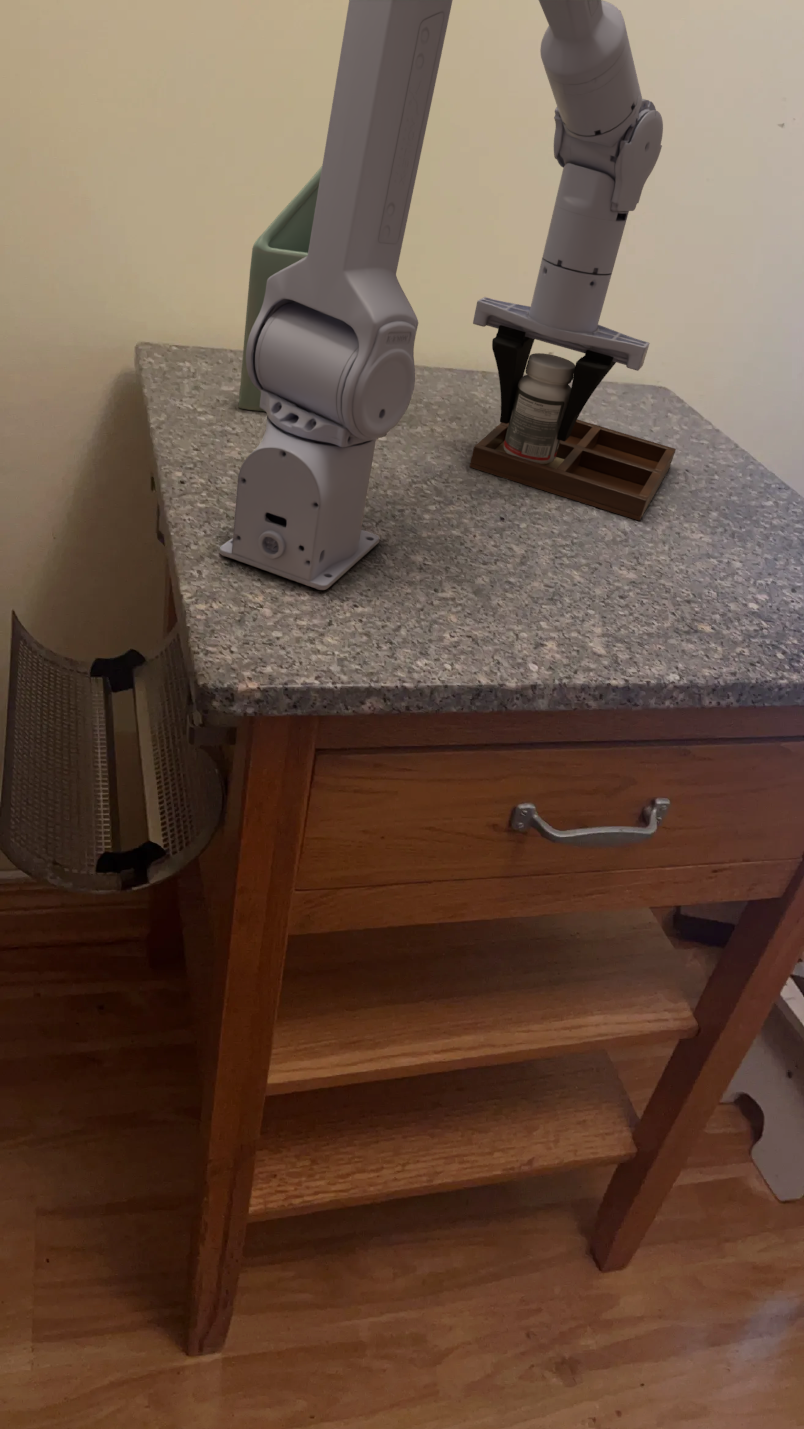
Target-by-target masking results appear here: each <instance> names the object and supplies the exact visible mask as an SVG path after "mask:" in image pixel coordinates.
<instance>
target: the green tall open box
mask: <svg viewBox="0 0 804 1429" xmlns="http://www.w3.org/2000/svg"><path fill="white" fill-rule="evenodd" d="M321 170H322V165H321V166H320V168H319V169H318V170H317V171H316V172H315V173H314V174H313V176H312V177H311V178H310V179H309V181H308V182H307V183H305V185H304V186H303V187H302V188H301V190H300V191H299V192H298V193H297V194H296V195H295V196H294V197H293V198H292V199H291V201H289V203H288V204H287V205H286V206H285V207H284V208H283V210H282V211H281V212H280V213H279V214H278V215H277V216H276V217H275V218H274V220H273V221H271V223H270V224H269V225H268V227H267V228H266V229H265V230H264V231H263V232H262V233H261V234H260V235H259V237H258V238H257V239H256V240H255V242H254V244H253V246H252V248H251V258H250V268H249V278H248V279H249V280H248V290H247V302H246V312H245V313H246V314H245V325H244V336H243V346H242V347H243V349H242V360H241V372H240V384H239V385H240V386H239V396H238V408H239V409H241V410H247V411H256V412H257V411H258V412H266V411H265V410H263V409H261V408H260V398H261V391H259V390H258V389H257V388H256V387H255V386H254V384H253V383H252V381H251V379H250V377H249V375H248V371H247V366H246V349H247V342H248V338H249V335H250V332H251V329H252V327H253V325H254V323H255V321H256V319H257V317H258V315H259V313H260V311H261V308H262V305H263V301H264V297H265V291H266V285H267V280H268V278H269V277H271V276H272V275H274V274H275V273H277V272H279V271H280V270H282V269H284V268H286V267H288V266H290V265H292V264H294V263H295V262H297V261H299V260H301V259H303V258H304V257H306V256H308V250H309V244H310V238H311V232H312V226H313V219H314V213H315V207H316V201H317V195H318V189H319V183H320V177H321ZM266 413H267V412H266Z"/></svg>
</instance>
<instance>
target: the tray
mask: <svg viewBox="0 0 804 1429" xmlns="http://www.w3.org/2000/svg"><path fill="white" fill-rule="evenodd" d="M508 425H509V423H508V424H505V423H502V422H500V423H499V424H498V425H497V426H495V427H494V428H493V429H492V430H490V432H489V433H488V434H487V435H485V437H483V438H482V439H481V440H479V441H478V443H476V444H474V446H473V450H472V455H471V459H470V463H469V468H472V469H474V470H478V471H482V472H484V473H488V474H491V475H494V476H497V477H500V478H504V479H506V480H509V481H512V482H516V483H519V484H522V485H525V486H528V487H532V488H534V489H538V490H540V491H544V492H547V493H551V494H553V495H557V496H560V497H563V498H566V499H570V500H573V501H576V502H579V503H582V504H585V505H589V506H591V507H594V508H598V509H601V510H604V511H607V512H611V513H613V514H616V515H620V516H622V517H626V518H629V519H632V520H635V521H639V522H640V521H641V519H642V518H643V516H644V514H645V512H646V511H647V509H648V507H649V505H650V503H651V501H652V500H653V498H654V496H655V495H656V493H657V491H658V489H659V487H660V486H661V484H662V482H663V481H664V478H665V477H666V475H667V473H668V471H669V470H670V468H671V465H672V462H673V459H674V456H675V453H676V450H677V449H676V448H674V447H671V446H668V445H664V444H661V443H658V442H654V441H651V440H648V439H644V438H641V437H637V436H634V435H631V434H627V433H624V432H621V431H618V430H615V429H612V428H611V429H610V428H608V427H604V426H601V425H598V424H594V423H591V422H587V421H585V420H581V419H578V418H577V420H576V422H575V425H574V427H573V429H572V432H571V434H570V436H569V438H568V439H567V440H566V441H561V440H560V443H559V447H558V450H557V454H556V457H555V459H554V461H552V462H550V463H547V464H539V463H536V462H533V461H530V460H526V459H523V458H520V457H517V456H514V455H510V454H507V453H506V452H505V450H504V441H505V437H506V433H507V429H508Z"/></svg>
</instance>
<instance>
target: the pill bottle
mask: <svg viewBox="0 0 804 1429" xmlns="http://www.w3.org/2000/svg"><path fill="white" fill-rule="evenodd" d="M575 365H576V363H574V362H573V361H571V360H569V359H567V358H564V357H562V356H559V355H554V354H550V353H543V352H541V353H540V352H536V353H535V352H534V353H530V355H529V358H528V361H527V365H526V368H525V374H524V375H523V377H522V378H521V379H520V380H519V383H518V386H517V390H516V395H515V399H514V403H513V408H512V412H511V416H510V421H509V425H508V429H507V433H506V437H505V441H504V450H505V452H506V453H507V454H510V455H514V456H517V457H520V458H523V459H526V460H530V461H533V462H536V463H539V464H547V463H550V462H552V461H554V459H555V457H556V454H557V450H558V447H559V443H560V440H558V439H557V437H558V432H559V428H560V425H561V422H562V419H563V416H564V414H565V411H566V408H567V404H568V400H569V396H570V391H571V387H572V386H570V385H569V384H572V382H573V376H574V371H575Z"/></svg>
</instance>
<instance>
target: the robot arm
mask: <svg viewBox="0 0 804 1429" xmlns="http://www.w3.org/2000/svg"><path fill="white" fill-rule="evenodd" d="M538 2H539V4H540V7H541V10H542V12H543V14H544V17H545V19H546V21H547V24H548V26H547V28H546V30H545V31H544V34H543V37H542V39H541V42H540V48H539V50H540V51H539V52H540V59H541V61H542V62H541V63H542V65H543V68H544V71H545V75H546V77H547V81H548V83H549V86H550V89H551V92H552V95H553V98H554V101H555V104H556V107H555V109H554V117H553V119H554V122H555V129H554V137H553V156H554V159H555V160H556V161H557V163H558V165H559V166H560V167H561V168H562V172H561V176H560V180H559V184H558V189H557V192H556V198H555V202H554V206H553V210H552V214H551V218H550V223H549V227H548V231H547V236H546V240H545V244H544V248H543V253H542V257H541V260H540V265H539V269H538V274H537V279H536V282H535V286H534V290H533V295H532V300H531V304H530V305H524V304H520V303H515V302H514V303H513V302H509V301H503V300H499V299H495V298H491V297H487V296H484V297H482V298H480V299H478V300H477V301H476V305H475V310H474V315H473V320H472V324H473V325H474V326H475V325H476V326H479V327H482V328H483V327H487V326H488V327H491V328H495V329H497V332H496V335H495V337H493V338H492V341H491V350H492V352H493V356H494V359H495V364H496V368H497V373H498V379H499V380H498V381H499V389H500V418H499V422H500V423H505V424H508V423H509V421H510V416H511V412H512V408H513V403H514V399H515V395H516V390H517V386H518V383H519V380H520V379H521V378H522V377H523V376H525V372H526V366H527V363H528V359H529V356H530V355H531V351H532V348H533V345H534V342H535V340H536V341H540V342H543V343H547V344H550V345H553V346H557V347H561V348H565V349H568V350H572V351H575V352H578V353H582V354H584V355H583V356H581V357H580V358H579V359H578V360H577V361H576V362H575V371H574V376H573V380H572V381H571V386H570V387H571V391H570V396H569V400H568V404H567V408H566V411H565V414H564V416H563V419H562V422H561V425H560V428H559V432H558V437H557V439H558V440H561V441H566V440H567V439H568V438H569V436H570V434H571V432H572V429H573V427H574V425H575V422H576V420H577V419H578V418H579V416H580V414H581V412H582V411H583V409H584V407H585V405H586V404H587V402H588V401H589V399H590V398H591V396H592V395H593V393H594V392H595V390H596V389H597V388H598V386H599V385H600V384H601V382H602V381H603V380H604V379H605V377H606V376H607V375H608V374H609V372H610V371H611V370H612V368H613V367H614V366H615V365H616V363H617V364H621V365H623V366H625V368H627V369H630V370H633V371H637V372H639V371H640V370H641V369H642V367H643V366H644V363H645V360H646V356H647V353H648V350H649V347H650V344H651V343H650V342H648V341H645V340H643V339H642V340H641V339H640V338H639V339H638V338H635V337H632V336H630V335H628V334H624V333H622V332H618V331H616V330H614V329H611V328H609V327H606V326H603V325H601V324H599V322H600V318H601V315H602V312H603V307H604V304H605V300H606V297H607V293H608V290H609V286H610V282H611V278H612V275H613V271H614V267H615V264H616V260H617V257H618V253H619V249H620V245H621V242H622V239H623V235H624V231H625V228H626V225H627V221H628V216H629V213H630V212H633V211H635V210H636V208H637V205H638V204H639V202H640V200H641V196H642V192H643V190H644V187H645V184H646V182H647V180H648V178H649V177H650V175H651V174H652V172H653V170H654V169H655V166H656V164H657V162H658V159H659V157H660V153H661V151H662V147H663V145H662V140H663V133H664V120H663V117H662V115H661V113H660V112H659V111H658V110H657V109H656V105H655V104H654V102H652V101H650V99H646V98H643V95H642V92H641V86H640V82H639V79H638V75H637V70H636V66H635V65H636V64H635V62H634V58H633V53H632V49H631V44H630V39H629V36H628V31H627V27H626V26H627V25H626V22H625V19H624V15H623V14H622V11H621V10H620V9H619V7H617V6H615V5H614V4H613V3H611V2H609V1H606V0H538ZM452 5H453V0H348V6H347V11H346V17H345V23H344V30H343V36H342V37H343V38H342V42H341V49H340V53H339V54H340V55H339V61H338V66H337V73H336V78H335V85H334V90H333V98H332V103H331V110H330V115H329V116H330V117H329V123H328V127H327V129H328V130H327V133H326V141H325V146H324V152H323V157H322V158H323V160H322V164H321V166H322V170H321V177H320V183H319V189H318V195H317V201H316V207H315V213H314V219H313V226H312V232H311V238H310V244H309V250H308V256H306V257H304V258H303V259H301V260H299V261H297V262H295V263H294V264H292V265H290V266H288V267H286V268H284V269H282V270H280V271H279V272H277V273H275V274H274V275H272V276H271V277H269V278H268V280H267V285H266V291H265V297H264V301H263V305H262V308H261V311H260V313H259V315H258V317H257V319H256V321H255V323H254V325H253V327H252V329H251V332H250V335H249V338H248V342H247V349H246V366H247V371H248V375H249V377H250V379H251V381H252V383H253V384H254V386H255V387H256V388H257V389H258V390H259V391H261V398H260V408H261V409H263V410H265V411H266V414H267V416H266V424H265V430H264V432H263V436H262V439H261V440H260V442H259V444H258V445H257V446H256V448H255V449H254V450H252V451H251V452H250V453H249V454H248V455H247V457H245V459H244V460H243V462H242V463H241V466H240V469H239V471H238V476H237V487H236V498H235V509H234V519H233V522H234V523H233V531H232V532H233V534H232V538H230V539H229V540H227V541H226V542H224V543H223V544H222V545H220V546H219V549H218V550H219V554H220V555H221V556H223V557H226V558H229V559H231V560H235V561H237V562H240V563H243V564H246V565H248V566H251V567H254V568H256V569H260V570H262V571H265V572H268V573H270V574H273V575H276V576H279V577H281V578H285V579H287V580H290V581H293V582H296V583H298V584H302V585H305V586H307V587H311V588H313V589H316V590H318V591H327V589H329V588H330V587H331V586H332V585H334V584H335V583H336V582H337V581H338V580H339V579H340V578H341V577H342V576H344V575H345V574H346V573H347V572H348V571H349V570H351V568H352V567H353V566H355V565H356V564H357V563H358V562H359V561H360V560H361V559H362V558H363V557H365V556H366V555H367V554H368V553H369V552H370V551H372V549H374V548H375V547H376V546H377V545H378V544H379V542H380V536H379V535H377V534H376V533H373V532H370V531H367V530H364V529H362V528H363V521H364V516H365V510H366V502H367V498H368V492H369V491H368V490H369V485H370V478H371V473H372V467H373V461H374V454H375V448H376V442H377V440H378V439H381V438H384V437H386V436H387V434H388V433H389V432H390V431H391V430H392V429H393V428H394V427H395V426H396V425H397V424H398V423H399V422H400V421H401V419H402V418H403V416H404V415H405V413H406V411H407V409H408V408H409V405H410V403H411V400H412V397H413V393H414V390H415V382H416V366H415V355H414V354H415V343H416V342H415V341H416V335H417V332H418V328H419V327H418V326H419V320H418V317H417V314H416V312H415V311H414V309H413V306H412V305H411V302H410V301H409V299H408V297H407V294H406V293H405V291H404V289H403V288H402V286H401V284H400V282H399V279H398V277H397V271H398V266H399V262H400V256H401V253H402V248H403V242H404V238H405V234H406V228H407V223H408V219H409V218H408V217H409V214H410V209H411V204H412V199H413V194H414V189H415V184H416V180H417V174H418V170H419V165H420V160H421V155H422V150H423V145H424V141H425V136H426V131H427V127H428V126H427V125H428V121H429V117H430V111H431V107H432V102H433V97H434V93H435V88H436V82H437V77H438V72H439V69H440V68H439V67H440V62H441V58H442V54H443V48H444V43H445V38H446V34H447V29H448V24H449V20H450V15H451V14H450V13H451V9H452ZM265 411H264V412H265Z"/></svg>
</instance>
